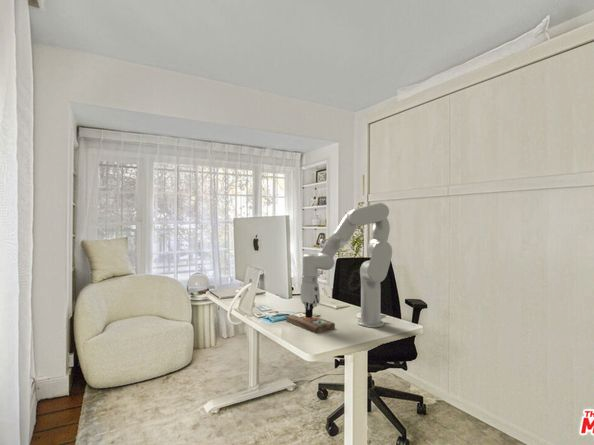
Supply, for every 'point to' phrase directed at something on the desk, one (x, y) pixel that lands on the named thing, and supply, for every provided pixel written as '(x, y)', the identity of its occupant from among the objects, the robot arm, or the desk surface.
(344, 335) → the desk surface
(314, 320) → the button two dots
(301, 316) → the button one dot
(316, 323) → the button three dots
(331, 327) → the button board
